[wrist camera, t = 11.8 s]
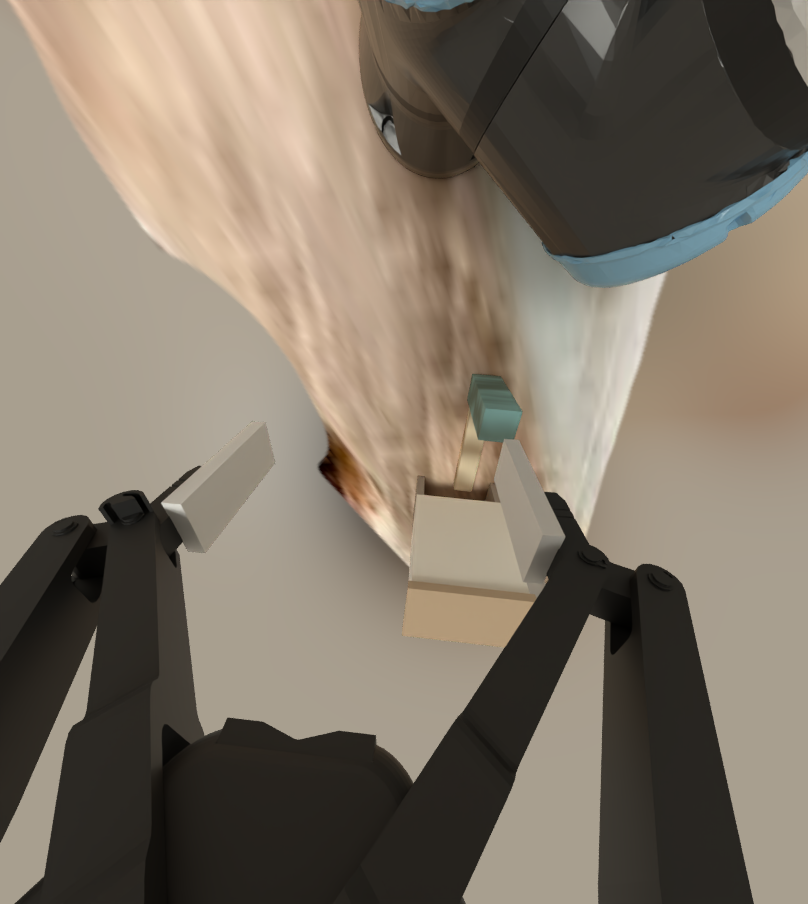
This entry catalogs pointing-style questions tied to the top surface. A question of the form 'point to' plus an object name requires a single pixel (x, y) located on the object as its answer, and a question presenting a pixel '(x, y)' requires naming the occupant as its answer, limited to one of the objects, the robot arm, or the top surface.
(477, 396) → the teal mallet
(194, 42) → the top surface
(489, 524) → the cupboard
